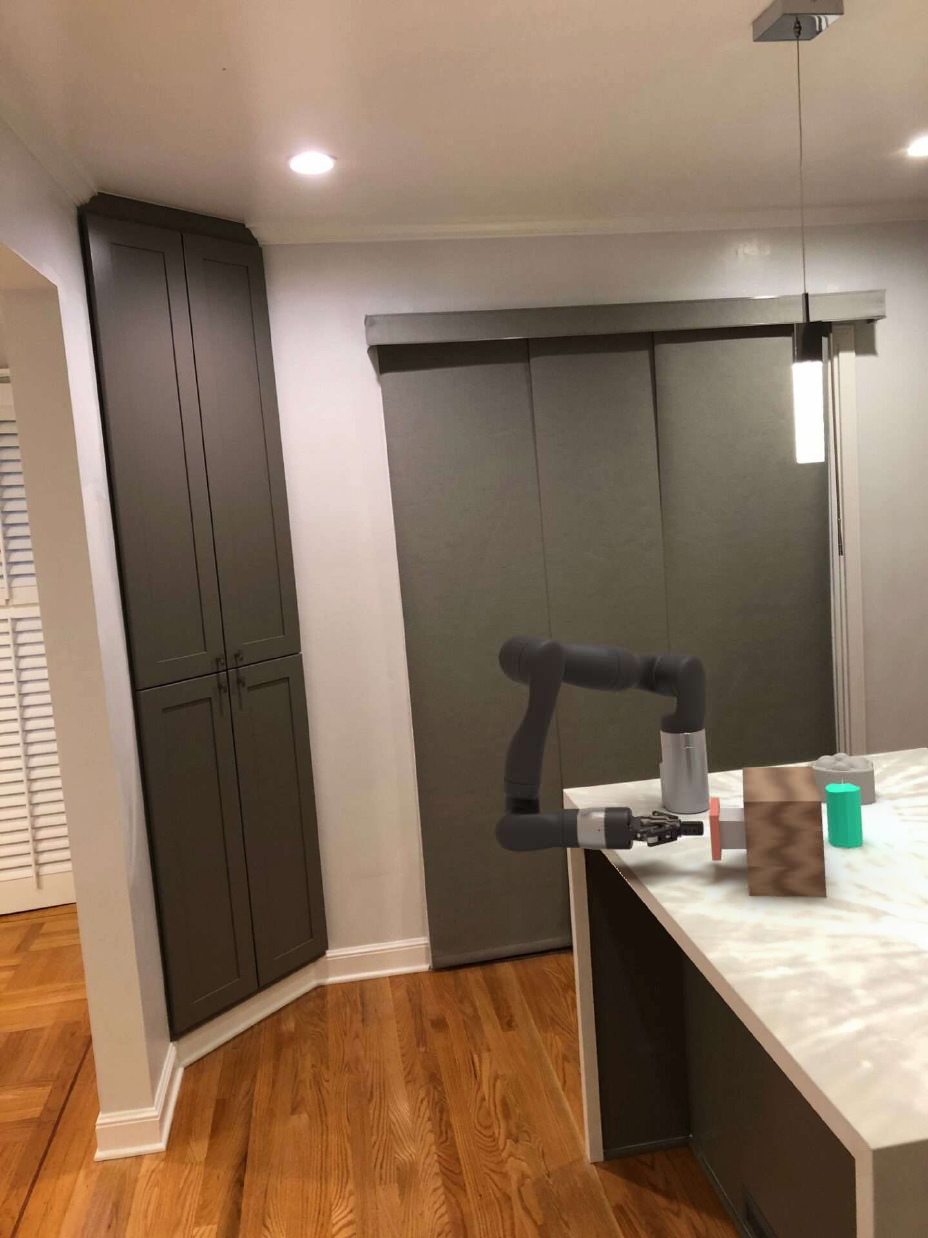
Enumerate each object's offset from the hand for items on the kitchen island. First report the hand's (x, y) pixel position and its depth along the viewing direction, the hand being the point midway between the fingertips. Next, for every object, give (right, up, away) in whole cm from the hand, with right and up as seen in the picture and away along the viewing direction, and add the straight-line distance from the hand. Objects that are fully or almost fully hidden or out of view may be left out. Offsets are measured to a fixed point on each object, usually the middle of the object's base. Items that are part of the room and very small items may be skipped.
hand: (703, 828), depth 170 cm
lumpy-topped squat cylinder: (+38, -1, +34) cm, 51 cm away
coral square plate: (+6, -4, -1) cm, 7 cm away
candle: (+28, -5, +9) cm, 30 cm away
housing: (+13, -7, -3) cm, 15 cm away
